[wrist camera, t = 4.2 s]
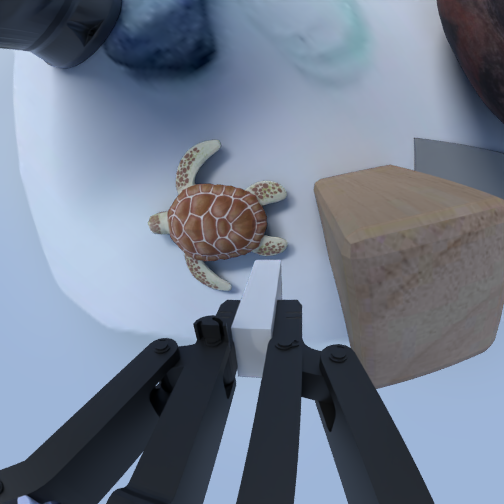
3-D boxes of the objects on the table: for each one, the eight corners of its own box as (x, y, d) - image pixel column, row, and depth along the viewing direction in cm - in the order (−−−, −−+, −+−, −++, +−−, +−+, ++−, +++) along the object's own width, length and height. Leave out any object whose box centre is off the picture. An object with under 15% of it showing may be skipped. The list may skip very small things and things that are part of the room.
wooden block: (406, 244, 29) (496, 352, 11) (329, 262, 32) (359, 399, 13) (394, 162, 26) (519, 198, 8) (310, 180, 29) (340, 240, 10)
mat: (414, 137, 25) (415, 137, 24) (527, 160, 21) (528, 160, 21) (404, 282, 31) (405, 283, 31) (512, 273, 27) (513, 274, 27)
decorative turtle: (147, 149, 30) (125, 151, 26) (285, 136, 28) (283, 133, 23) (166, 282, 37) (150, 300, 32) (287, 287, 34) (286, 308, 30)
